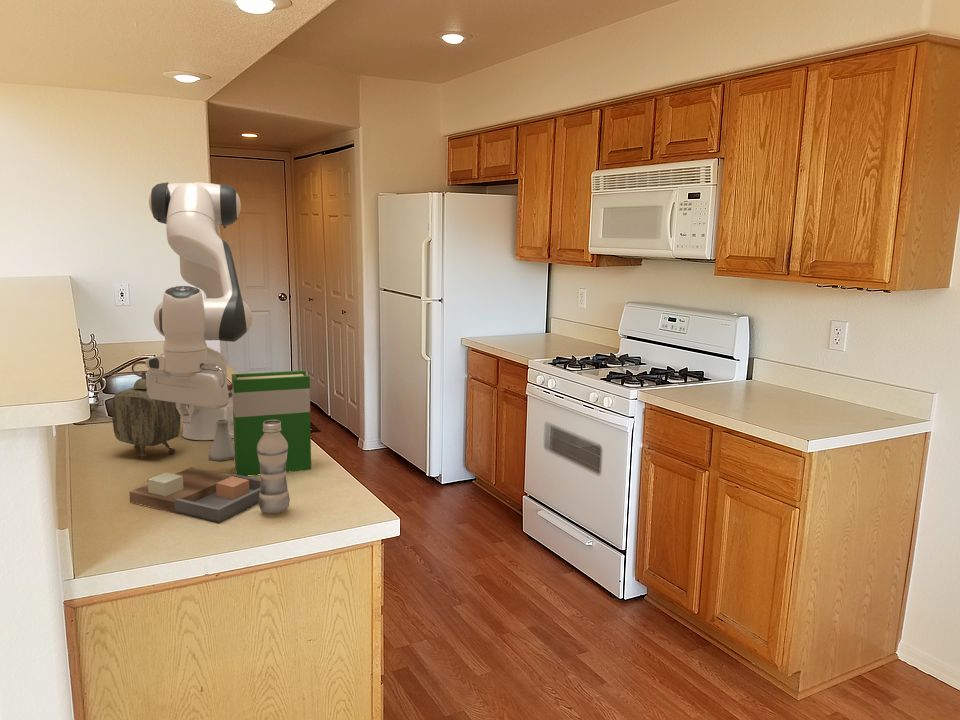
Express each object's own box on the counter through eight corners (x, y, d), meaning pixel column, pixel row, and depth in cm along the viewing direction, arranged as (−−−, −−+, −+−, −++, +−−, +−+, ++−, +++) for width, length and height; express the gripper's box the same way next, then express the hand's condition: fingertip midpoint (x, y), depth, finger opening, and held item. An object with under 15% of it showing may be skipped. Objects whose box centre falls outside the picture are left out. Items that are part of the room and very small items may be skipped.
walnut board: (191, 477, 176) (191, 467, 176) (234, 486, 171) (234, 475, 171) (130, 502, 160) (129, 491, 160) (175, 513, 155) (174, 502, 155)
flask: (227, 451, 197) (226, 415, 195) (243, 457, 192) (242, 420, 190) (203, 457, 191) (201, 420, 189) (218, 463, 187) (216, 425, 185)
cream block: (166, 485, 164) (165, 472, 163) (183, 488, 162) (182, 476, 162) (148, 492, 160) (147, 479, 159) (165, 496, 158) (165, 483, 157)
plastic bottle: (295, 507, 160) (293, 419, 156) (280, 519, 153) (278, 427, 150) (268, 504, 161) (266, 416, 157) (252, 516, 155) (249, 425, 151)
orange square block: (232, 488, 168) (232, 476, 168) (249, 492, 166) (249, 479, 166) (216, 495, 164) (215, 483, 163) (233, 499, 162) (233, 486, 161)
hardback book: (306, 460, 191) (304, 370, 186) (311, 469, 184) (309, 376, 179) (235, 467, 184) (231, 374, 179) (237, 477, 177) (233, 380, 173)
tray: (234, 486, 171) (233, 473, 171) (275, 494, 167) (275, 482, 166) (175, 513, 155) (174, 499, 155) (219, 523, 151) (218, 510, 150)
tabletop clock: (182, 453, 194) (177, 360, 189) (159, 463, 185) (153, 366, 180) (136, 447, 197) (130, 356, 193) (111, 457, 189) (104, 362, 184)
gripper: (234, 364, 159) (236, 425, 162) (161, 354, 166) (165, 413, 169) (213, 369, 153) (216, 432, 156) (139, 359, 161) (143, 420, 163)
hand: (189, 422), depth 163 cm, fingers closed
